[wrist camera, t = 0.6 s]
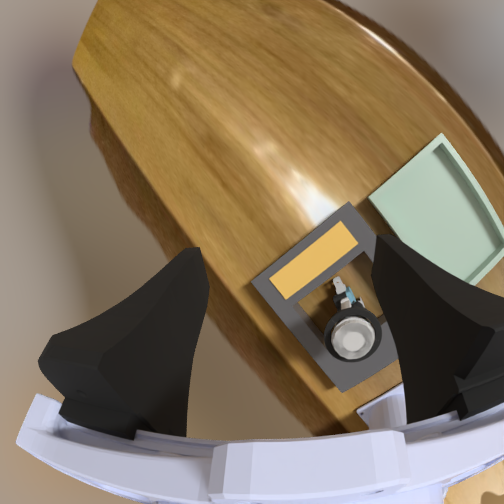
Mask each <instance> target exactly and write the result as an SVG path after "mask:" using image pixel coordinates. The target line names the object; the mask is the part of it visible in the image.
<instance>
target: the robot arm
mask: <svg viewBox="0 0 504 504" xmlns="http://www.w3.org/2000/svg"><path fill="white" fill-rule="evenodd" d="M371 276H372V280H373V284H374V288H375V292H376V295H377V298H378V301H379V303H380V306H381V308H382V311H383V313H384V316H385V318H386V321H387V323H388V326H389V328H390V331H391V334H392V336H393V339H394V342H395V346H396V350H397V354H398V359H399V363H400V369H401V374H402V380H403V382H402V383H400V384H399V385H397V386H396V387H394V388H393V389H391V390H389V391H388V392H386V393H384V394H383V395H381V396H379V397H378V398H376V399H374V400H372V401H371V402H369V403H367V404H365V405H363V406H362V407H360V408H358V409H357V414H358V415H359V416H360V417H361V418H362V419H363V421H364V422H365V423H366V424H367V425H368V426H369V430H366V431H360V432H353V433H346V434H339V435H330V436H320V437H308V438H292V439H251V440H233V441H220V440H207V439H196V438H187V437H186V431H187V429H186V428H187V409H188V396H189V385H190V377H191V370H192V363H193V356H194V352H195V348H196V345H197V341H198V337H199V334H200V330H201V327H202V323H203V319H204V316H205V312H206V308H207V303H208V296H209V288H210V286H209V282H208V278H207V274H206V270H205V266H204V262H203V258H202V254H201V250H200V247H195V248H185V249H184V250H183V251H181V252H180V253H179V254H178V255H177V256H176V257H175V258H174V259H172V260H171V261H170V262H169V263H168V264H167V265H166V266H165V267H164V268H163V269H162V270H160V271H159V272H158V273H157V274H156V275H155V276H154V277H152V278H151V279H150V280H149V281H148V282H146V283H145V284H144V285H143V286H142V287H141V288H139V289H138V290H137V291H135V292H134V293H133V294H132V295H130V296H129V297H127V298H126V299H124V300H123V301H122V302H120V303H118V304H117V305H115V306H113V307H112V308H110V309H108V310H107V311H105V312H104V313H102V314H100V315H99V316H96V317H95V318H93V319H91V320H89V321H87V322H85V323H82V324H80V325H78V326H76V327H73V328H71V329H69V330H66V331H63V332H60V333H58V334H55V335H53V336H52V337H51V338H50V340H49V342H48V343H47V345H46V347H45V349H44V350H43V352H42V354H41V356H40V357H39V360H38V364H39V367H40V370H41V371H42V373H43V374H44V376H45V377H46V378H47V379H48V380H49V381H50V382H51V383H52V384H53V385H54V387H55V388H56V389H57V390H58V391H59V392H60V393H61V394H62V395H63V396H64V397H65V399H64V401H63V403H61V402H59V401H57V400H55V399H53V398H50V397H47V396H44V395H42V394H36V396H35V398H34V400H33V403H32V404H31V407H30V409H29V411H28V413H27V415H26V418H25V420H24V422H23V425H22V427H21V429H20V432H19V434H18V437H17V439H16V444H17V445H18V446H20V447H21V448H23V449H24V450H26V451H27V452H29V453H30V454H32V455H33V456H35V457H36V458H38V459H40V460H41V461H43V462H44V463H46V464H48V465H50V466H51V467H53V468H55V469H57V470H59V471H61V472H63V473H65V474H67V475H69V476H71V477H73V478H76V479H78V480H80V481H82V482H85V483H87V484H90V485H92V486H94V487H97V488H99V489H102V490H105V491H107V492H110V493H113V494H116V495H118V496H121V497H124V498H127V499H131V500H134V501H137V502H141V503H144V504H444V501H443V499H444V498H445V497H446V493H447V491H448V487H450V486H452V485H455V484H457V483H459V482H461V481H464V480H466V479H468V478H470V477H472V476H474V475H476V474H478V473H480V472H482V471H484V470H486V469H488V468H490V467H492V466H493V465H495V464H497V463H499V462H500V461H502V460H504V297H501V296H498V295H495V294H492V293H490V292H487V291H485V290H482V289H480V288H478V287H476V286H474V285H471V284H469V283H467V282H465V281H463V280H461V279H459V278H458V277H456V276H454V275H452V274H450V273H449V272H447V271H445V270H444V269H442V268H440V267H439V266H437V265H436V264H434V263H433V262H431V261H430V260H428V259H427V258H425V257H424V256H422V255H421V254H419V253H418V252H417V251H415V250H414V249H412V248H411V247H409V246H408V245H407V244H405V243H404V242H402V241H401V240H399V239H398V238H396V237H394V236H393V235H391V234H384V235H377V236H376V245H375V253H374V260H373V267H372V274H371ZM362 412H363V413H362ZM361 413H362V414H361Z"/></svg>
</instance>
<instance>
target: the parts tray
mask: <svg viewBox="0 0 504 504" xmlns="http://www.w3.org/2000/svg"><path fill="white" fill-rule="evenodd" d="M367 199H368V200H369V201H370V202H371V204H372V205H373V206H374V208H375V209H376V210H377V211H378V213H379V214H380V215H381V217H382V218H383V219H384V220H385V222H386V223H387V224H388V226H389V227H390V228H391V230H392V231H393V233H394V234H395V235H396V237H397V238H398V239H399V240H401V241H402V242H404V243H405V244H407V245H408V246H409V247H411V248H412V249H414V250H415V251H417V252H418V253H419V254H421V255H422V256H424V257H425V258H427V259H428V260H430V261H431V262H433V263H434V264H436V265H437V266H439V267H440V268H442V269H444V270H445V271H447V272H449V273H450V274H452V275H454V276H456V277H458V278H459V279H461V280H463V281H465V282H467V283H469V284H471V285H474V286H475V285H476V284H477V283H478V282H479V281H480V280H481V279H482V278H483V277H484V276H485V275H486V274H487V273H488V272H489V271H490V270H491V269H492V268H493V267H494V266H495V265H496V264H497V263H498V262H499V260H500V259H501V258H502V257H503V256H504V227H503V225H502V223H501V221H500V219H499V218H498V216H497V214H496V212H495V210H494V209H493V207H492V205H491V203H490V202H489V200H488V198H487V197H486V195H485V193H484V192H483V190H482V188H481V187H480V185H479V184H478V182H477V181H476V179H475V178H474V176H473V175H472V173H471V172H470V170H469V169H468V167H467V166H466V164H465V163H464V161H463V160H462V159H461V157H460V156H459V155H458V153H457V152H456V151H455V149H454V148H453V147H452V145H451V144H450V143H449V141H448V140H447V139H446V138H445V136H444V135H443V134H442V133H441V134H439V135H438V136H437V137H436V138H435V139H434V140H433V141H431V142H430V143H429V144H428V145H427V146H426V147H425V148H424V149H423V150H421V151H420V152H419V153H418V154H417V155H416V156H415V157H414V158H412V159H411V160H410V161H409V162H408V163H407V164H406V165H404V166H403V167H402V168H401V169H400V170H399V171H398V172H396V173H395V174H394V175H393V176H392V177H391V178H390V179H388V180H387V181H386V182H385V183H384V184H383V185H381V186H380V187H379V188H378V189H377V190H376V191H374V192H373V193H372V194H371V195H370V196H369V197H367Z"/></svg>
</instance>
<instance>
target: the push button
mask: <svg viewBox="0 0 504 504" xmlns="http://www.w3.org/2000/svg"><path fill="white" fill-rule="evenodd" d="M336 282H339V283H336ZM333 283H334V285H335V287H336V295H335V296H333V301H334V303H335V305H336V307H337V313H336V314H335V315H333V316H332V318H331V319H330V320H329V321H328V323H327V325H326V327H325V331H324V343H325V346H326V348H327V350H328V352H329V353H330V354H331V355H332V356H333V357H335V358H336V359H338V360H340V361H343V362H359V361H362V360H365V359H366V358H368V357H370V356H371V355H372V354H373V353H374V352H375V351H376V350H377V348H378V347H379V345H380V343H381V339H382V328H381V325H380V322H379V320H378V319H377V317H376V316H375V315H374V314H373V313H371V312H370V311H368V310H367V309H365V307H364V304H363V301H362V299H361V297H360V301H356V299H355V297H354V295H353V293H352V291H351V289H350V287H347V288H346V287H345V284H343V283H342V281H341V279H340V277H339V276H338V277H336V278H334V279H333ZM369 320H370V321H371V323H372V324H373V325H374V329H373V327H372V326H371V324H370V321H369ZM334 325H335V327H334V330H333V332H332V335H331V330H332V328H333V326H334Z"/></svg>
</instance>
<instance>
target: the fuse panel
mask: <svg viewBox="0 0 504 504" xmlns="http://www.w3.org/2000/svg"><path fill="white" fill-rule="evenodd" d="M375 245H376V235H375V234H374V232H373V231H372V230H371V228H370V227H369V226H368V225H367V223H366V222H365V221H364V219H363V218H362V217H361V216H360V214H359V213H358V212H357V211H356V209H355V208H354V207H353V206H352V204H351V203H350V202H349V201H348V202H347V203H346V204H345V205H344V206H343V207H341V208H340V209H339V210H338V211H337V212H335V213H334V214H333V215H332V216H331V217H329V218H328V219H327V220H326V221H325V222H323V223H322V224H321V225H320V226H319V227H317V228H316V229H315V230H314V231H313V232H311V233H310V234H309V235H308V236H306V237H305V238H304V239H303V240H302V241H300V242H299V243H298V244H297V245H296V246H294V247H293V248H292V249H291V250H289V251H288V252H287V253H286V254H285V255H283V256H282V257H281V258H280V259H278V260H277V261H276V262H275V263H273V264H272V265H271V266H270V267H268V268H267V269H266V270H265V271H264V272H262V273H261V274H260V275H259V276H257V277H256V278H255V279H254V280H252V281H251V283H252V284H253V285H254V286H255V288H256V289H257V290H258V291H259V293H260V294H261V295H262V296H263V298H264V299H265V300H266V301H267V303H268V304H269V305H270V306H271V308H272V309H273V310H274V311H275V312H276V314H277V315H278V316H279V317H280V319H281V320H282V321H283V322H284V324H285V325H286V326H287V327H288V328H289V330H290V331H291V332H292V333H293V335H294V336H295V337H296V338H297V340H298V341H299V342H300V343H301V344H302V346H303V347H304V348H305V349H306V350H307V352H308V353H309V354H310V355H311V357H312V358H313V359H314V360H315V361H316V363H317V364H318V365H319V366H320V367H321V369H322V370H323V371H324V372H325V373H326V375H327V376H328V377H329V378H330V379H331V381H332V382H333V383H334V384H335V385H336V387H337V388H338V389H339V390H340V391H341V392H342V393H343V392H345V391H347V390H348V389H350V388H352V387H354V386H355V385H357V384H359V383H360V382H362V381H364V380H365V379H367V378H369V377H370V376H372V375H374V374H375V373H377V372H378V371H380V370H381V369H383V368H385V367H386V366H388V365H389V364H391V363H392V362H394V361H395V360H397V359H398V354H397V350H396V346H395V342H394V339H393V336H392V334H391V331H390V328H389V326H388V323H387V321H386V318H385V316H384V314H383V315H382V316H380V317H379V318H377V319H378V320H379V322H380V325H381V328H382V339H381V343H380V345H379V347H378V348H377V350H376V351H375V352H374V353H373V354H372V355H371V356H370V357H368V358H366V359H365V360H362V361H359V362H343V361H340V360H338V359H336V358H335V357H333V356H332V355H331V354H330V353H329V352H328V350H327V348H326V346H325V343H324V335H323V334H322V333H321V331H320V330H319V329H318V328H317V326H316V325H315V324H314V323H313V321H312V320H311V319H310V318H309V316H308V315H307V314H306V313H305V311H304V310H303V309H302V308H301V306H300V305H299V304H298V303H297V302H298V301H299V300H301V299H302V298H304V297H305V296H306V295H308V294H309V293H310V292H312V291H313V290H314V289H316V288H317V287H318V286H320V285H321V284H322V283H324V282H325V281H326V280H327V279H329V278H330V277H331V276H333V275H334V274H335V273H337V272H338V271H339V270H340V269H342V268H343V267H344V266H345V265H347V264H348V263H349V262H351V261H352V260H353V259H354V258H356V257H357V256H358V255H359V254H361V253H362V252H363V251H365V253H366V254H367V255H368V257H369V258H370V259H371V261H372V262H373V260H374V253H375ZM371 326H372V327H373V329H374V325H373V324H372V323H371Z"/></svg>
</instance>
